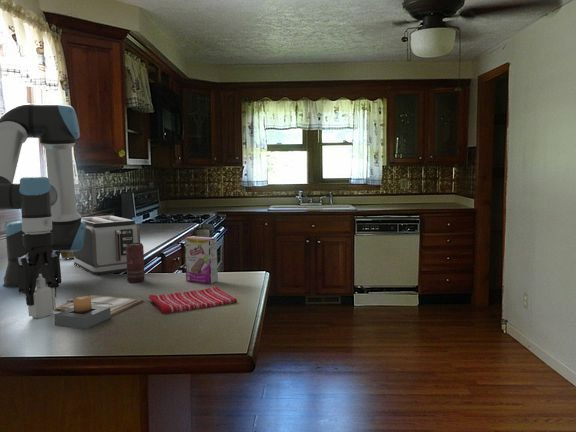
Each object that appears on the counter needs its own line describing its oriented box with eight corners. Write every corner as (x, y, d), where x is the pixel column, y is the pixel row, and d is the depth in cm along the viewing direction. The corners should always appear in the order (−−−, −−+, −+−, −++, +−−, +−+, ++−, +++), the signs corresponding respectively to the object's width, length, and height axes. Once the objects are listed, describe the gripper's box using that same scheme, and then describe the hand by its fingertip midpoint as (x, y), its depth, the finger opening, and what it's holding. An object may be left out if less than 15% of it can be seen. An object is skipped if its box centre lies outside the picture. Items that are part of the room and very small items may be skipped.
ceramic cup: (83, 258, 225) (82, 237, 224) (59, 260, 219) (58, 239, 218) (77, 254, 236) (76, 234, 235) (55, 256, 230) (54, 236, 229)
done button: (70, 310, 130) (69, 299, 129) (81, 306, 134) (81, 295, 134) (83, 312, 128) (83, 301, 128) (95, 307, 133) (94, 296, 132)
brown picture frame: (49, 310, 142) (49, 306, 142) (87, 296, 158) (87, 292, 158) (110, 316, 136) (110, 312, 136) (143, 301, 151) (143, 297, 151)
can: (140, 283, 175) (138, 245, 174) (124, 282, 176) (122, 244, 175) (148, 279, 181) (146, 242, 180) (132, 278, 182) (131, 242, 181)
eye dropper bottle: (30, 315, 137) (27, 274, 136) (51, 312, 140) (49, 271, 139) (33, 319, 134) (30, 277, 132) (55, 315, 137) (52, 274, 136)
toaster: (96, 277, 186) (93, 224, 184) (71, 263, 213) (69, 218, 211) (144, 270, 198) (142, 221, 196) (115, 258, 225) (113, 215, 223)
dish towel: (147, 302, 152) (147, 293, 152) (218, 292, 163) (218, 284, 163) (160, 316, 137) (160, 307, 137) (237, 304, 148) (237, 296, 148)
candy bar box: (185, 281, 177) (184, 237, 175) (193, 278, 182) (192, 235, 180) (210, 284, 172) (209, 239, 171) (218, 281, 177) (217, 237, 175)
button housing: (54, 325, 128) (54, 314, 128) (81, 314, 138) (81, 304, 137) (85, 329, 125) (84, 317, 125) (110, 317, 135) (110, 307, 134)
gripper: (20, 237, 125) (26, 324, 127) (72, 228, 142) (76, 305, 145) (-2, 236, 127) (4, 321, 129) (52, 227, 145) (56, 303, 147)
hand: (42, 312), depth 137 cm, fingers closed on eye dropper bottle, 6 cm apart
